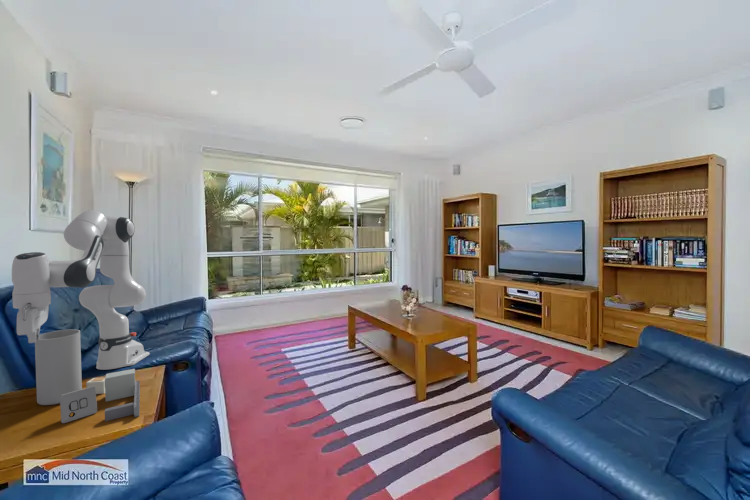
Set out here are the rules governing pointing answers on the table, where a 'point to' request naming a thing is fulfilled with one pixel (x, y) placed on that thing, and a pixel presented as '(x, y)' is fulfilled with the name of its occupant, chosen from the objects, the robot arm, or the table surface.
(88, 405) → the electrical switch
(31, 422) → the table surface
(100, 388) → the block
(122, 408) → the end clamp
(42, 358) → the cylinder vase
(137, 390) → the rail
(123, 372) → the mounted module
